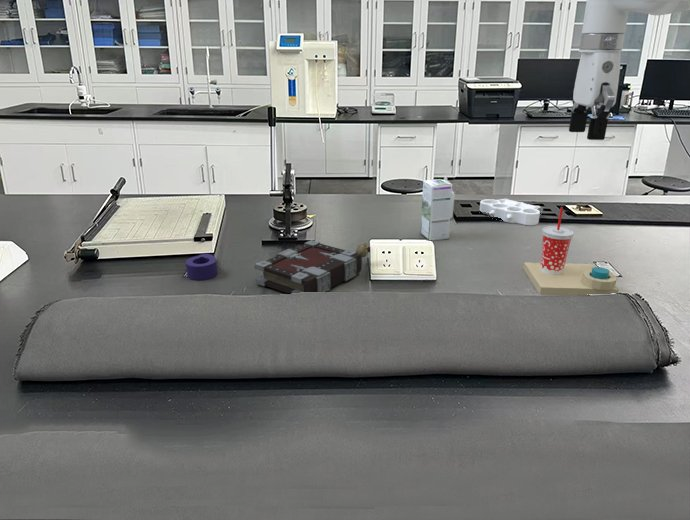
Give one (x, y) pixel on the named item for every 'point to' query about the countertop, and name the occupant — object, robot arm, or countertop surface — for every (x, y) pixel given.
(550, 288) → the scale
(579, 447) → the countertop surface
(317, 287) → the book
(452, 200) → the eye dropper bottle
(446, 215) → the syrup box
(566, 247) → the beverage cup
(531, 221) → the white tube rack
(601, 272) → the button
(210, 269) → the purple thick ring
